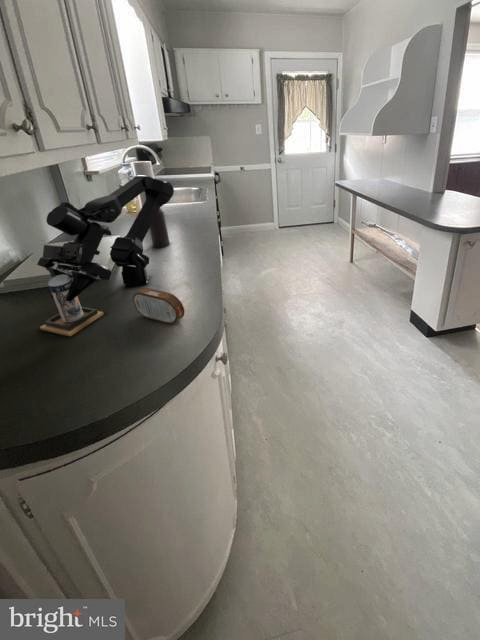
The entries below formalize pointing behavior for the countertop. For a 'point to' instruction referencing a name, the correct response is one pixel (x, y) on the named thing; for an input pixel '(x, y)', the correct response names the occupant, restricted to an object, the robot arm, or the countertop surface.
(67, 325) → the socket pad
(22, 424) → the countertop surface
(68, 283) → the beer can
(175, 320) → the tin
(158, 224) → the bottle
